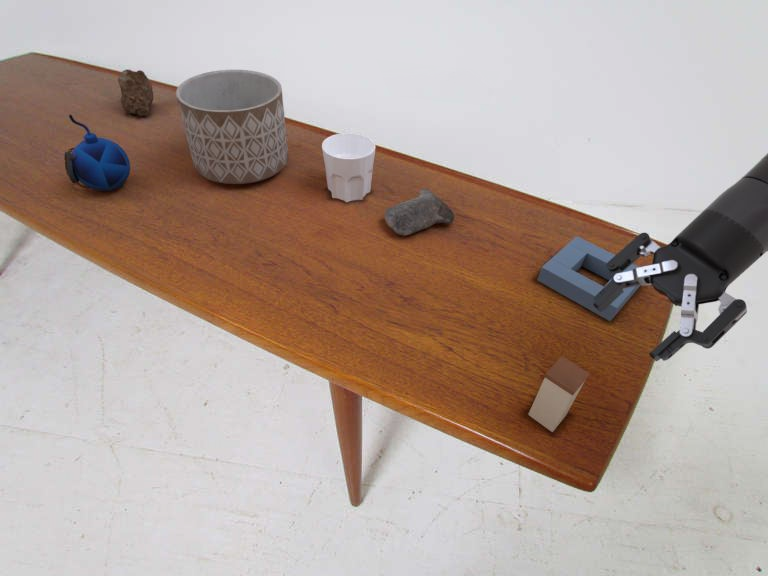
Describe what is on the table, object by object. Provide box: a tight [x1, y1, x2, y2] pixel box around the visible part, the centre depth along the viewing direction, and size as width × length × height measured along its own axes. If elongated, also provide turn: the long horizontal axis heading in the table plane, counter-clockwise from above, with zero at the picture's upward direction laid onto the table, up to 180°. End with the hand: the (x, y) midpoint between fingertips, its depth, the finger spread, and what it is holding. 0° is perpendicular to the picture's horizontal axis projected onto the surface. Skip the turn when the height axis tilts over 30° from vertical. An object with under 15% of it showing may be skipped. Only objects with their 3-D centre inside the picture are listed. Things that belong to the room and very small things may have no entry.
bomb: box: [64, 114, 131, 192], centre depth 92 cm, size 10×11×15 cm
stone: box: [384, 188, 455, 237], centre depth 93 cm, size 12×5×10 cm
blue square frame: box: [536, 235, 647, 322], centre depth 83 cm, size 13×12×3 cm
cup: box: [321, 132, 377, 203], centre depth 97 cm, size 10×10×10 cm
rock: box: [117, 69, 154, 118], centre depth 119 cm, size 10×6×10 cm
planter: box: [175, 69, 289, 185], centre depth 100 cm, size 19×19×16 cm
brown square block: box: [527, 356, 590, 433], centre depth 62 cm, size 4×4×9 cm
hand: (623, 332), depth 59 cm, fingers open, 8 cm apart
